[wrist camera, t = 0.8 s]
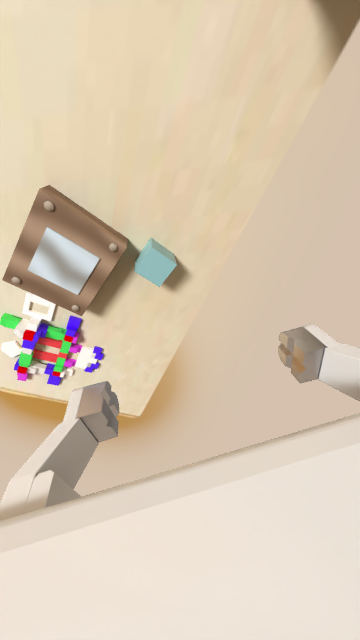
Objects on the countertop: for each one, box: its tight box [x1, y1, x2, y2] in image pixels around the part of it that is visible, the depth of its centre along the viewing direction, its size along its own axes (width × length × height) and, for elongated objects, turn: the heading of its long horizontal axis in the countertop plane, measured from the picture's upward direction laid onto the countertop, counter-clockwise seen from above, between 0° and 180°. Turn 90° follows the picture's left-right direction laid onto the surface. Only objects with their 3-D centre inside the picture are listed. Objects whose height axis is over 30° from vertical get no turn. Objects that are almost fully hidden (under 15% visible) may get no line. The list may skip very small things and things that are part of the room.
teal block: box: [135, 238, 177, 287], centre depth 39 cm, size 5×5×5 cm
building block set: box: [0, 291, 104, 385], centre depth 49 cm, size 25×20×4 cm
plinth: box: [3, 185, 128, 316], centre depth 37 cm, size 16×13×4 cm
